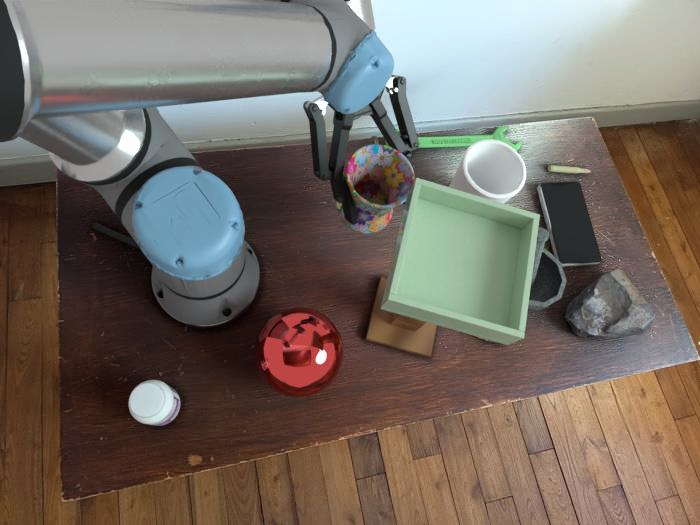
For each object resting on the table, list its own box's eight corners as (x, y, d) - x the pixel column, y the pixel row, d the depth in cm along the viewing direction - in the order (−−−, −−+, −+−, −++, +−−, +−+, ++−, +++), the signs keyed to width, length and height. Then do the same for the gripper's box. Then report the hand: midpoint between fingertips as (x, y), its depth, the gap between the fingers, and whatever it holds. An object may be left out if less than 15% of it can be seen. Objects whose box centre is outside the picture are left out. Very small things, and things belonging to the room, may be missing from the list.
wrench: (519, 122, 95) (526, 149, 94) (515, 128, 97) (521, 154, 96) (384, 126, 91) (388, 154, 89) (381, 132, 93) (386, 160, 91)
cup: (443, 171, 92) (469, 129, 80) (496, 189, 92) (531, 150, 80) (430, 221, 88) (456, 185, 76) (486, 240, 89) (521, 207, 77)
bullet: (549, 172, 95) (591, 175, 96) (551, 166, 94) (593, 169, 95) (547, 169, 96) (588, 172, 97) (549, 163, 95) (590, 167, 96)
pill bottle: (133, 398, 72) (114, 391, 63) (170, 378, 74) (157, 368, 65) (150, 434, 71) (134, 431, 62) (187, 413, 73) (177, 407, 64)
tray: (380, 309, 57) (387, 299, 53) (407, 193, 62) (416, 177, 58) (508, 345, 58) (524, 338, 54) (524, 228, 63) (540, 214, 59)
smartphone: (559, 265, 88) (538, 183, 92) (555, 267, 89) (535, 186, 93) (603, 261, 89) (580, 181, 94) (599, 264, 90) (576, 184, 95)
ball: (251, 400, 75) (248, 390, 63) (258, 316, 79) (257, 293, 68) (336, 403, 76) (348, 394, 65) (339, 321, 80) (351, 299, 69)
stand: (364, 339, 80) (404, 295, 58) (379, 278, 84) (422, 214, 61) (428, 357, 81) (491, 320, 58) (440, 296, 84) (504, 239, 62)
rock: (603, 263, 91) (623, 252, 86) (654, 312, 89) (678, 303, 84) (553, 318, 86) (571, 310, 81) (606, 371, 84) (628, 365, 79)
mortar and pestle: (550, 313, 86) (593, 292, 75) (497, 322, 84) (533, 302, 73) (530, 248, 89) (568, 219, 78) (478, 256, 88) (510, 227, 76)
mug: (395, 239, 79) (418, 209, 69) (333, 237, 77) (347, 205, 67) (390, 167, 82) (411, 128, 73) (331, 163, 81) (344, 123, 71)
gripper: (402, 20, 70) (424, 181, 81) (257, 59, 65) (302, 227, 76) (434, 20, 64) (453, 194, 75) (276, 63, 58) (321, 245, 69)
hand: (377, 210), depth 75 cm, fingers closed on mug, 7 cm apart
